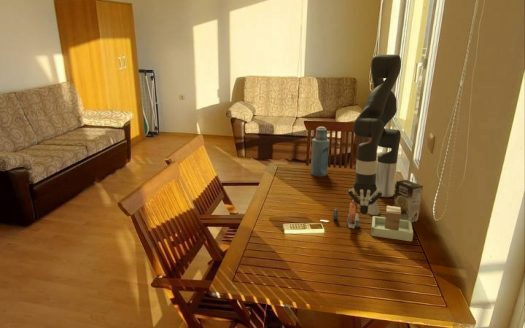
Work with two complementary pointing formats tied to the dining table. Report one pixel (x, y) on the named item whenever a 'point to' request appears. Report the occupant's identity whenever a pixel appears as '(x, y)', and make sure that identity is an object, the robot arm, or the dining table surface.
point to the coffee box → (408, 199)
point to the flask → (373, 207)
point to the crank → (352, 215)
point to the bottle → (320, 153)
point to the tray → (380, 231)
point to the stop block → (392, 217)
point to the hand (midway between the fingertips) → (363, 213)
